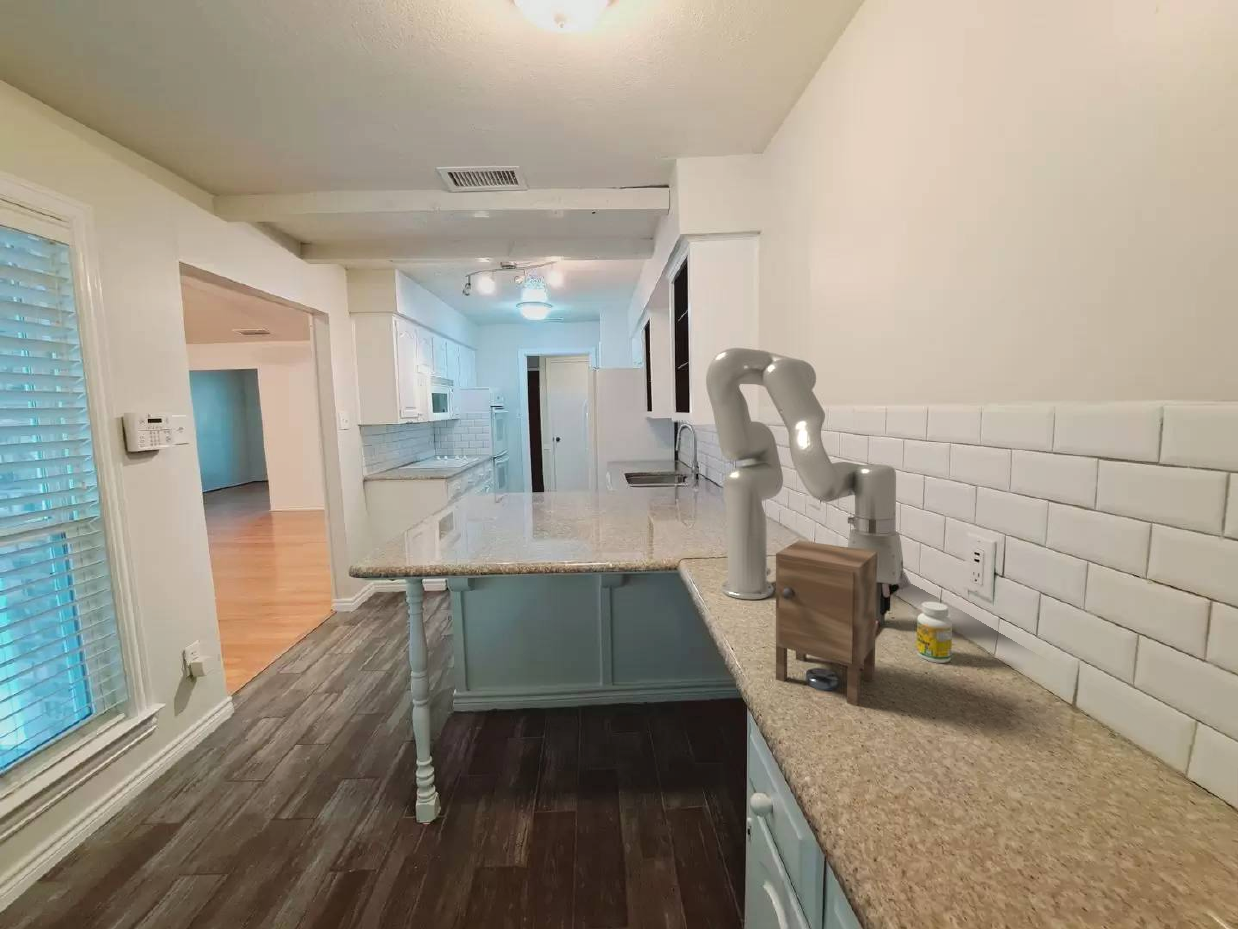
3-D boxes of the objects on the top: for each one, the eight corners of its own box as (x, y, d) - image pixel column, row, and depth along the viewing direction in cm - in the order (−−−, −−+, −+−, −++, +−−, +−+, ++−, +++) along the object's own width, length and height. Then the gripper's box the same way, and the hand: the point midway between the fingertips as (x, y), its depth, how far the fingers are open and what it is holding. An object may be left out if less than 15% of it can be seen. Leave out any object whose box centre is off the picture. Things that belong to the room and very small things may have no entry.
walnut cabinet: (798, 656, 95) (799, 540, 92) (874, 678, 86) (877, 551, 84) (771, 682, 86) (771, 555, 84) (853, 710, 78) (855, 570, 75)
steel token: (812, 673, 89) (812, 665, 89) (842, 682, 86) (842, 674, 86) (801, 685, 86) (801, 677, 85) (832, 696, 82) (832, 687, 82)
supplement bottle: (957, 663, 91) (960, 610, 90) (928, 664, 90) (930, 612, 89) (937, 648, 96) (939, 599, 95) (910, 650, 96) (911, 600, 95)
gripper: (827, 524, 108) (828, 609, 109) (916, 533, 97) (915, 627, 99) (839, 517, 113) (839, 598, 115) (924, 525, 103) (922, 614, 105)
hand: (874, 610), depth 107 cm, fingers closed on rake, 3 cm apart
